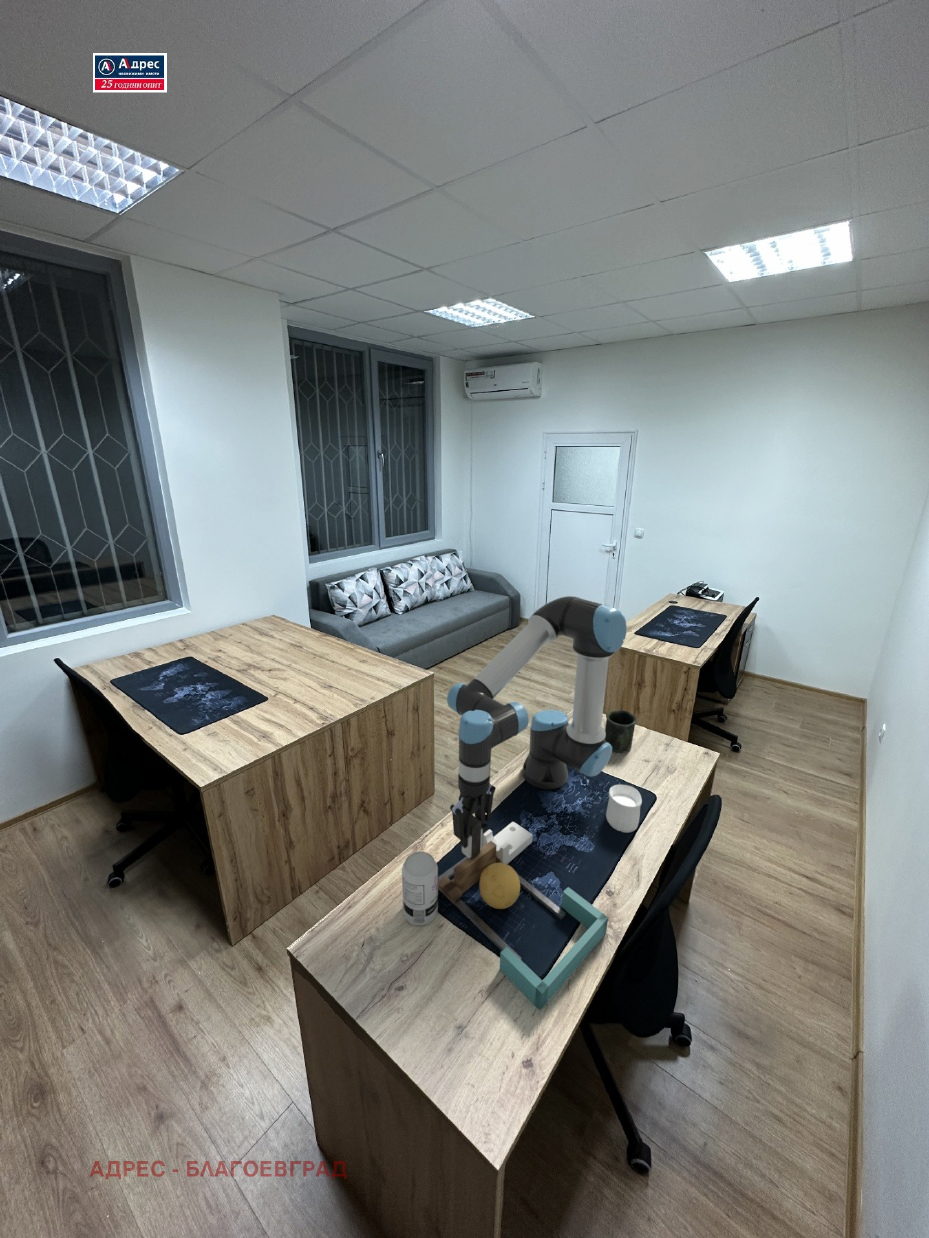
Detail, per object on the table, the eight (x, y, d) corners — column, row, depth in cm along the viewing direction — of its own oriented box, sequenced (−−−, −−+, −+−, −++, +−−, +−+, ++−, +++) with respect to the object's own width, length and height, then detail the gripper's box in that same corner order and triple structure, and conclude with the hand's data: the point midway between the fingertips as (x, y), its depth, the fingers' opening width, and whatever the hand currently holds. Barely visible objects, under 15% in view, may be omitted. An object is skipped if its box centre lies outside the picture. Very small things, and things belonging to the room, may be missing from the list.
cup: (623, 806, 152) (627, 780, 148) (646, 828, 143) (651, 801, 140) (598, 814, 148) (602, 788, 145) (620, 837, 140) (624, 810, 136)
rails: (481, 847, 135) (481, 844, 135) (565, 915, 116) (565, 912, 116) (433, 883, 124) (433, 880, 124) (516, 965, 105) (516, 962, 104)
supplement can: (399, 903, 118) (397, 855, 113) (431, 892, 122) (430, 845, 116) (409, 932, 111) (407, 883, 106) (442, 920, 115) (443, 871, 109)
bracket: (502, 871, 128) (503, 848, 126) (482, 856, 133) (483, 834, 130) (531, 844, 137) (533, 823, 135) (512, 831, 142) (513, 810, 139)
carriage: (489, 850, 134) (492, 798, 128) (505, 863, 130) (509, 810, 124) (436, 890, 122) (436, 834, 116) (452, 906, 118) (453, 849, 112)
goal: (566, 902, 120) (568, 886, 118) (605, 933, 112) (608, 917, 110) (499, 969, 104) (500, 952, 102) (540, 1010, 97) (542, 993, 95)
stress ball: (510, 886, 125) (482, 858, 125) (534, 878, 118) (504, 848, 119) (493, 922, 117) (464, 891, 117) (518, 915, 111) (486, 883, 111)
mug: (597, 746, 182) (601, 718, 178) (612, 729, 193) (616, 702, 188) (626, 757, 175) (630, 728, 171) (639, 739, 186) (644, 712, 182)
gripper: (486, 752, 123) (483, 826, 131) (437, 780, 113) (437, 858, 121) (508, 766, 118) (504, 842, 126) (459, 796, 108) (458, 877, 116)
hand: (471, 850), depth 123 cm, fingers closed on carriage, 3 cm apart
